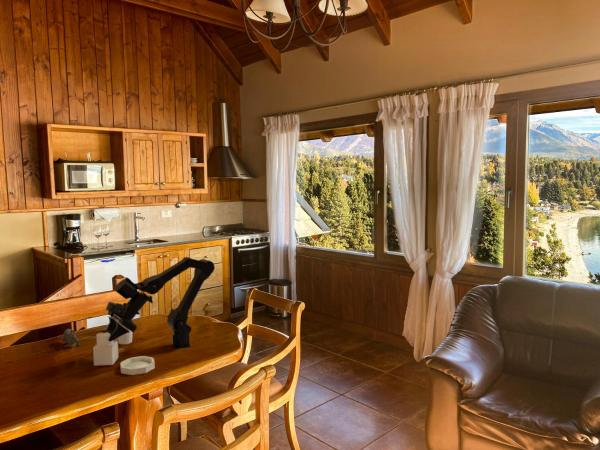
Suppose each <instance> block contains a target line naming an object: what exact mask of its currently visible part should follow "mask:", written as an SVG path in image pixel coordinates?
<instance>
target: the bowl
mask: <svg viewBox="0 0 600 450" xmlns="http://www.w3.org/2000/svg"><path fill="white" fill-rule="evenodd" d="M155 364H156V363H155V358H154V357H150V356H146V355H140V356H134V357H129V358H127V359H125V360H123V361H121V362H120V374H124V375H129V376H134V375H135V376H136V375H143V374H146V373H147V374H148V372H150V371H152V370H154V369H155V368H156V367H155V366H156V365H155Z"/></svg>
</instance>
